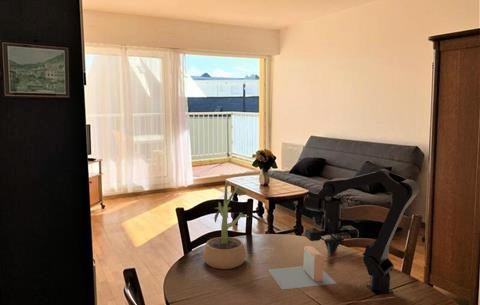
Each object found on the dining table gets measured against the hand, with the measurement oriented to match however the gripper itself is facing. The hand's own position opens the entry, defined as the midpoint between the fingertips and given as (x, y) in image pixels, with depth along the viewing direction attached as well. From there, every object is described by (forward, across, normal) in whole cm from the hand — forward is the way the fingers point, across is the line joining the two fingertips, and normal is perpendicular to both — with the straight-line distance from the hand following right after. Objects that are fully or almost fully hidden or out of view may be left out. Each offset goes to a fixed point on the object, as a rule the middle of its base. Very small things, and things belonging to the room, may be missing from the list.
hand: (330, 255), depth 143 cm
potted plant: (+7, +34, -22) cm, 41 cm away
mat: (+7, +11, 0) cm, 13 cm away
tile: (+7, +7, 0) cm, 10 cm away
